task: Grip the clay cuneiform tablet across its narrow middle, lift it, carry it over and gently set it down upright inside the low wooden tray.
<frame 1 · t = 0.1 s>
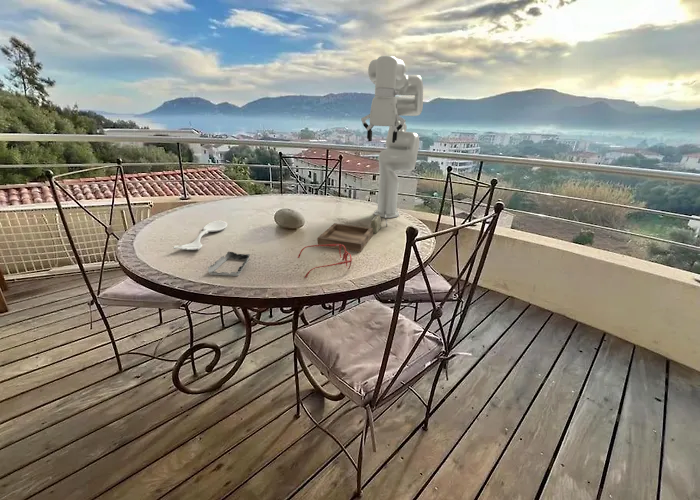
hand: (381, 141, 130), 37 cm above the table, fingers open, 9 cm apart
wooden tray: (346, 240, 130), on the table
cuneiform tablet: (378, 230, 144), on the table
spoon: (205, 239, 128), on the table
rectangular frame: (232, 268, 106), on the table
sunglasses: (324, 266, 109), on the table
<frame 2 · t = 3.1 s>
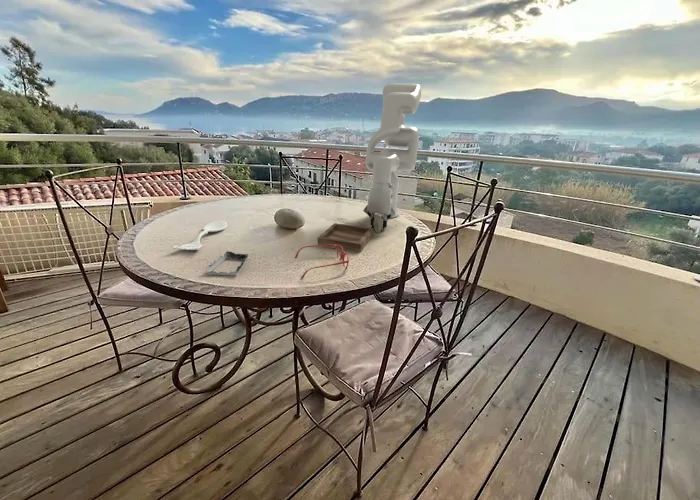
hand: (378, 227, 144), 1 cm above the table, fingers closed on cuneiform tablet, 4 cm apart
cuneiform tablet: (379, 229, 145), on the table, touching gripper
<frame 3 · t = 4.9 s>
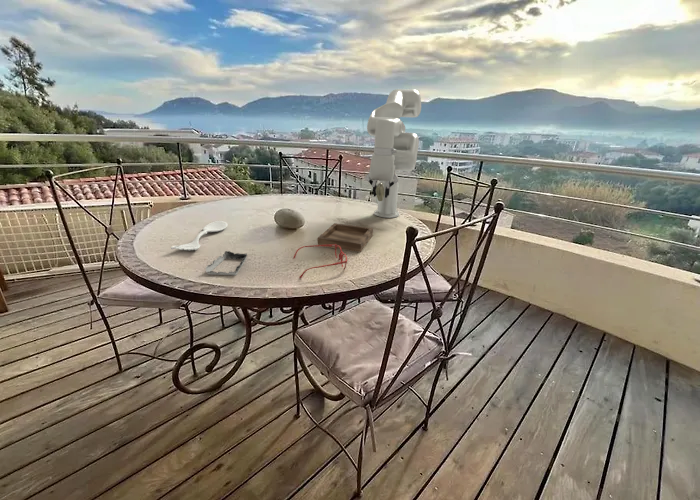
hand: (380, 196, 139), 15 cm above the table, fingers closed on cuneiform tablet, 4 cm apart
cuneiform tablet: (382, 198, 140), point 14 cm above the table, touching gripper
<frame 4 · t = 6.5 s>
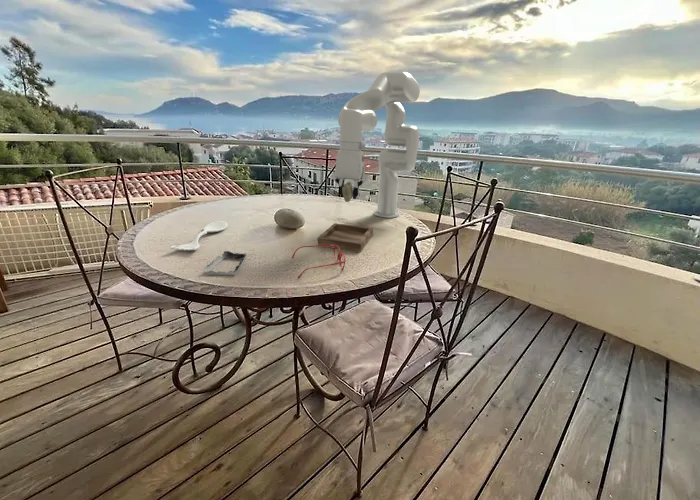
hand: (348, 196, 124), 18 cm above the table, fingers closed on cuneiform tablet, 4 cm apart
cuneiform tablet: (351, 198, 125), point 16 cm above the table, touching gripper
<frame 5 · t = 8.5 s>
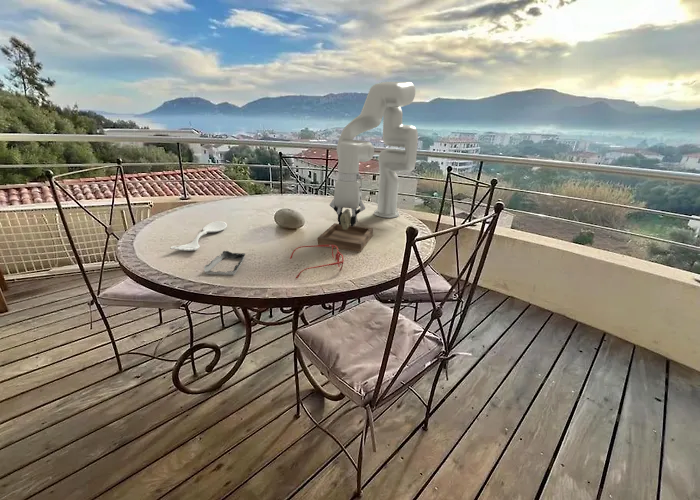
hand: (346, 224, 128), 7 cm above the table, fingers closed on cuneiform tablet, 4 cm apart
cuneiform tablet: (348, 226, 129), point 6 cm above the table, touching gripper
when the fingers open (3 cm above the table, at t = 10.0 s): cuneiform tablet drops 1 cm, resting on wooden tray.
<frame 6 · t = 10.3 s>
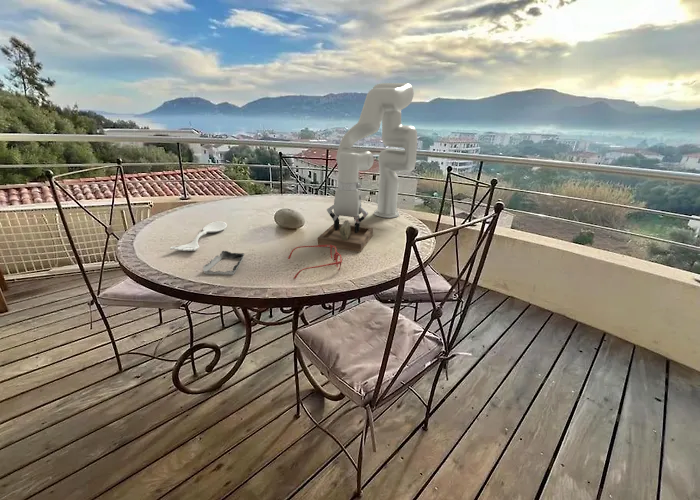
hand: (346, 230, 129), 4 cm above the table, fingers open, 7 cm apart
cuneiform tablet: (348, 237, 131), point 1 cm above the table, touching wooden tray
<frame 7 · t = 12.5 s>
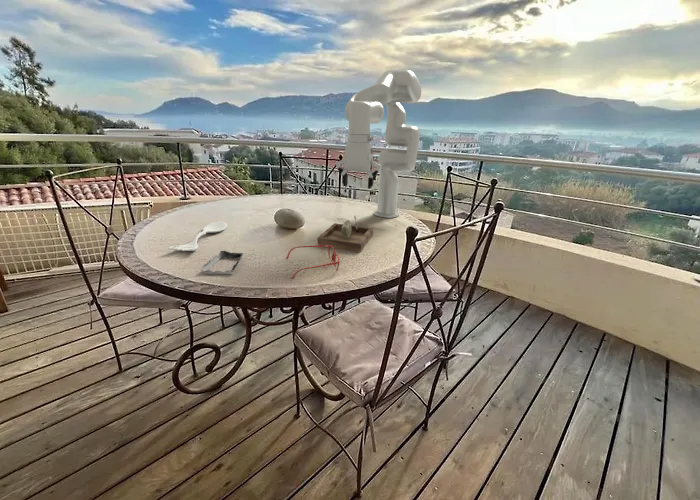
hand: (357, 186, 124), 21 cm above the table, fingers open, 9 cm apart
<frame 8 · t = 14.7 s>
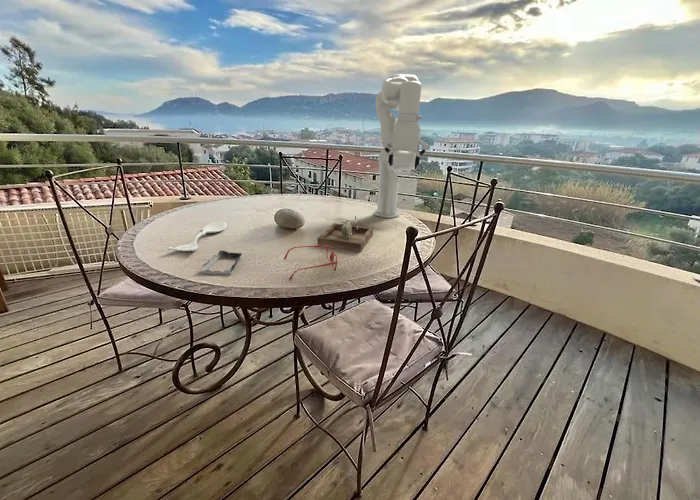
hand: (403, 166, 127), 28 cm above the table, fingers open, 9 cm apart
at the end: cuneiform tablet inside the target area on the wooden tray (1.9 cm from its centre), point 1.0 cm above the wooden tray's base; the gripper is holding nothing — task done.
